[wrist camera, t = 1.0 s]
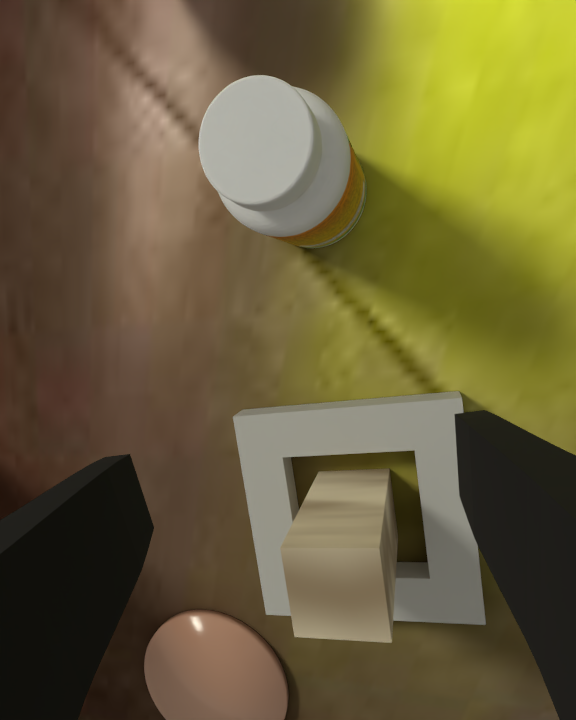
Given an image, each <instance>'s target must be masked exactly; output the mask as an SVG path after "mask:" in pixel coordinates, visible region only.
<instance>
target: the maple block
mask: <svg viewBox="0 0 576 720" xmlns="http://www.w3.org/2000/svg"><path fill="white" fill-rule="evenodd" d="M397 548H398V531H397V523H396V516H395V508H394V500H393V492H392V484H391V476H390V469H366V470H343V471H320V472H318V474H317V476H316V478H315V480H314V482H313V484H312V486H311V488H310V490H309V492H308V494H307V496H306V498H305V500H304V502H303V504H302V505H301V507H300V509H299V511H298V513H297V515H296V517H295V519H294V521H293V523H292V525H291V527H290V529H289V531H288V533H287V535H286V537H285V539H284V541H283V543H282V545H281V547H280V550H281V556H282V562H283V568H284V575H285V581H286V587H287V593H288V599H289V606H290V612H291V618H292V624H293V630H294V636H295V637H304V638H321V639H338V640H355V641H371V642H388V643H392V632H393V615H394V598H395V582H396V565H397Z"/></svg>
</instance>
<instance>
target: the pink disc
mask: <svg viewBox="0 0 576 720" xmlns="http://www.w3.org/2000/svg"><path fill="white" fill-rule="evenodd" d="M144 672H145V679H146V683H147V687H148V690H149V692H150V695H151V697H152V699H153V701H154V703H155V705H156V707H157V708H158V710H159V711H160V713H161V714H162V715H163V717H164V718H165V719H166V720H284V719H285V716H286V712H287V708H288V702H289V691H288V683H287V679H286V675H285V672H284V670H283V667H282V665H281V663H280V661H279V659H278V657H277V656H276V654H275V652H274V651H273V649H272V648H271V647H270V646H269V644H268V643H267V642H266V641H265V640H264V639H263V638H262V637H261V636H260V635H259V634H258V633H257V632H256V631H254V630H253V629H252V628H251V627H249V626H248V625H246V624H245V623H243V622H242V621H240V620H238V619H236V618H234V617H232V616H229V615H227V614H224V613H221V612H217V611H212V610H189V611H185V612H181V613H178V614H176V615H174V616H172V617H171V618H169V619H168V620H167V621H165V622H164V623H163V624H162V625H161V626H160V627H159V629H158V630H157V631H156V633H155V634H154V636H153V637H152V639H151V640H150V642H149V645H148V647H147V650H146V654H145V661H144Z"/></svg>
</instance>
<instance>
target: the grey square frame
mask: <svg viewBox="0 0 576 720" xmlns="http://www.w3.org/2000/svg"><path fill="white" fill-rule="evenodd" d="M458 413H464V412H463V403H462V397H461V394H460V392H459V391H454V392H443V393H431V394H419V395H408V396H396V397H384V398H373V399H361V400H350V401H338V402H326V403H315V404H303V405H291V406H280V407H268V408H257V409H245V410H241V411H240V412H239V413H237V414H236V415H235V416H233V420H234V426H235V432H236V438H237V444H238V450H239V456H240V462H241V468H242V474H243V480H244V486H245V491H246V497H247V503H248V509H249V515H250V521H251V527H252V533H253V539H254V545H255V551H256V557H257V563H258V569H259V575H260V581H261V587H262V593H263V599H264V605H265V611H266V615H286V616H291V612H290V606H289V599H288V593H287V587H286V581H285V575H284V568H283V562H282V556H281V550H280V547H281V545H282V543H283V541H284V539H285V537H286V535H287V533H288V531H289V529H290V527H291V525H292V523H293V521H294V519H295V517H296V515H297V513H298V511H299V506H298V500H297V493H296V487H295V480H294V474H293V467H292V461H291V457H301V456H320V455H338V454H357V453H376V452H395V451H413V450H415V458H416V467H417V475H418V483H419V492H420V500H421V508H422V517H423V525H424V533H425V542H426V550H427V558H428V562H397V565H396V582H395V598H394V615H393V621H413V622H434V623H456V624H477V625H486V620H485V611H484V602H483V592H482V583H481V573H480V564H479V554H478V545H477V542H476V540H475V538H474V536H473V533H472V530H471V527H470V525H469V522H468V519H467V516H466V514H465V511H464V508H463V505H462V502H461V499H460V496H459V482H458V465H457V448H456V432H455V415H454V414H458Z"/></svg>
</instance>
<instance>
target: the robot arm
mask: <svg viewBox="0 0 576 720" xmlns="http://www.w3.org/2000/svg"><path fill="white" fill-rule="evenodd" d="M454 415H455V432H456V448H457V465H458V482H459V496H460V499H461V502H462V505H463V508H464V511H465V514H466V516H467V519H468V522H469V525H470V527H471V530H472V533H473V536H474V538H475V540H476V542H477V544H478V546H479V549H480V551H481V553H482V555H483V557H484V558H485V560H486V562H487V564H488V566H489V568H490V570H491V572H492V574H493V576H494V578H495V580H496V582H497V584H498V586H499V588H500V590H501V592H502V594H503V596H504V598H505V600H506V602H507V604H508V606H509V608H510V610H511V612H512V614H513V616H514V618H515V619H516V621H517V623H518V625H519V627H520V629H521V631H522V633H523V635H524V637H525V639H526V641H527V643H528V645H529V647H530V650H531V652H532V654H533V656H534V658H535V660H536V663H537V665H538V667H539V669H540V672H541V674H542V676H543V679H544V681H545V684H546V686H547V689H548V691H549V694H550V696H551V699H552V701H553V704H554V706H555V709H556V711H557V714H558V716H559V719H560V720H576V455H573V454H571V453H569V452H567V451H565V450H563V449H561V448H559V447H557V446H555V445H553V444H551V443H549V442H547V441H545V440H543V439H541V438H539V437H537V436H535V435H533V434H531V433H529V432H528V431H526V430H524V429H522V428H520V427H518V426H516V425H514V424H512V423H510V422H508V421H506V420H505V419H503V418H501V417H499V416H497V415H495V414H492V413H490V412H488V411H485V410H482V411H474V412H466V413H458V414H454ZM153 529H154V526H153V523H152V520H151V517H150V514H149V511H148V508H147V505H146V502H145V499H144V496H143V493H142V490H141V487H140V483H139V480H138V477H137V474H136V471H135V468H134V465H133V462H132V459H131V456H130V454H127V455H119V456H111V457H104V458H102V459H100V460H98V461H96V462H94V463H92V464H90V465H89V466H87V467H85V468H83V469H82V470H80V471H78V472H77V473H75V474H73V475H72V476H70V477H68V478H67V479H65V480H64V481H62V482H60V483H59V484H57V485H56V486H54V487H53V488H51V489H49V490H48V491H46V492H45V493H43V494H42V495H40V496H38V497H37V498H35V499H34V500H32V501H31V502H29V503H27V504H26V505H24V506H23V507H21V508H20V509H18V510H16V511H15V512H13V513H11V514H10V515H8V516H6V517H5V518H3V519H1V520H0V720H78V717H79V714H80V712H81V709H82V706H83V703H84V700H85V697H86V695H87V692H88V690H89V687H90V685H91V682H92V680H93V678H94V675H95V673H96V670H97V668H98V666H99V664H100V662H101V659H102V657H103V655H104V653H105V651H106V648H107V646H108V644H109V642H110V640H111V637H112V635H113V633H114V631H115V629H116V626H117V624H118V622H119V620H120V618H121V615H122V613H123V611H124V609H125V607H126V604H127V602H128V600H129V598H130V595H131V593H132V591H133V589H134V586H135V584H136V582H137V579H138V577H139V575H140V572H141V570H142V567H143V564H144V561H145V558H146V554H147V551H148V548H149V544H150V540H151V537H152V533H153Z"/></svg>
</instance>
